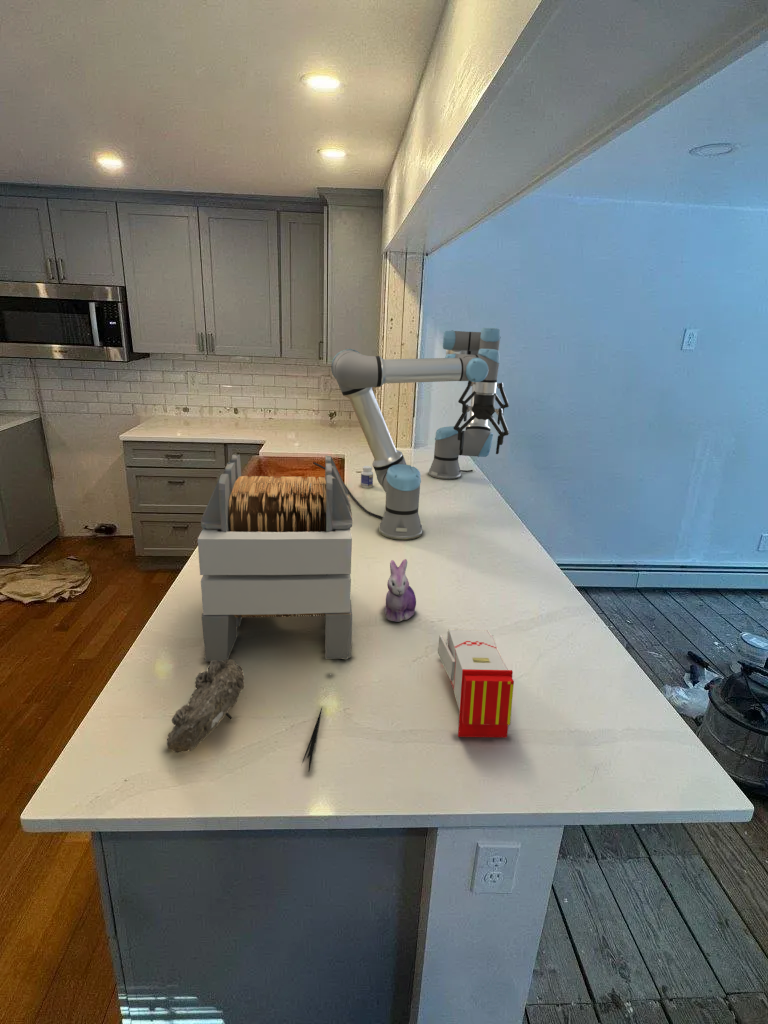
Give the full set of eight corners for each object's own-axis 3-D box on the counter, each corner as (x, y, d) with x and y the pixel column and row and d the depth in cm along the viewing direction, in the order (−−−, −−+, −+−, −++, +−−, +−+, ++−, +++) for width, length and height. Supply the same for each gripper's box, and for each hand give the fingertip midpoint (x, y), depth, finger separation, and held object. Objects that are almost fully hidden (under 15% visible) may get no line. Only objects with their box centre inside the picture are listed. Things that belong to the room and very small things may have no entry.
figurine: (392, 627, 141) (395, 572, 136) (374, 608, 149) (376, 556, 144) (425, 619, 145) (429, 566, 140) (405, 601, 154) (408, 550, 149)
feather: (331, 679, 122) (336, 673, 122) (307, 777, 96) (313, 769, 95) (324, 675, 122) (329, 669, 121) (298, 772, 95) (304, 764, 95)
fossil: (192, 660, 117) (244, 628, 112) (224, 691, 120) (276, 661, 115) (142, 746, 98) (202, 712, 93) (182, 779, 101) (242, 748, 96)
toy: (488, 613, 130) (523, 677, 101) (484, 667, 133) (517, 744, 104) (435, 612, 130) (455, 676, 101) (432, 666, 133) (451, 743, 103)
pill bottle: (370, 488, 248) (371, 469, 245) (359, 487, 249) (359, 467, 246) (374, 485, 253) (374, 466, 250) (362, 484, 254) (363, 464, 251)
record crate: (225, 590, 155) (217, 445, 141) (345, 589, 159) (348, 447, 145) (202, 664, 123) (188, 485, 110) (352, 660, 127) (356, 487, 113)
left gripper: (521, 395, 204) (514, 452, 211) (453, 389, 211) (448, 445, 218) (519, 398, 197) (511, 457, 204) (448, 391, 204) (444, 449, 211)
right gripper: (520, 370, 223) (513, 424, 231) (457, 366, 230) (453, 418, 237) (518, 372, 217) (511, 427, 224) (454, 367, 224) (449, 421, 231)
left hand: (478, 451), depth 211 cm, fingers open, 13 cm apart
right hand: (481, 422), depth 231 cm, fingers open, 13 cm apart
